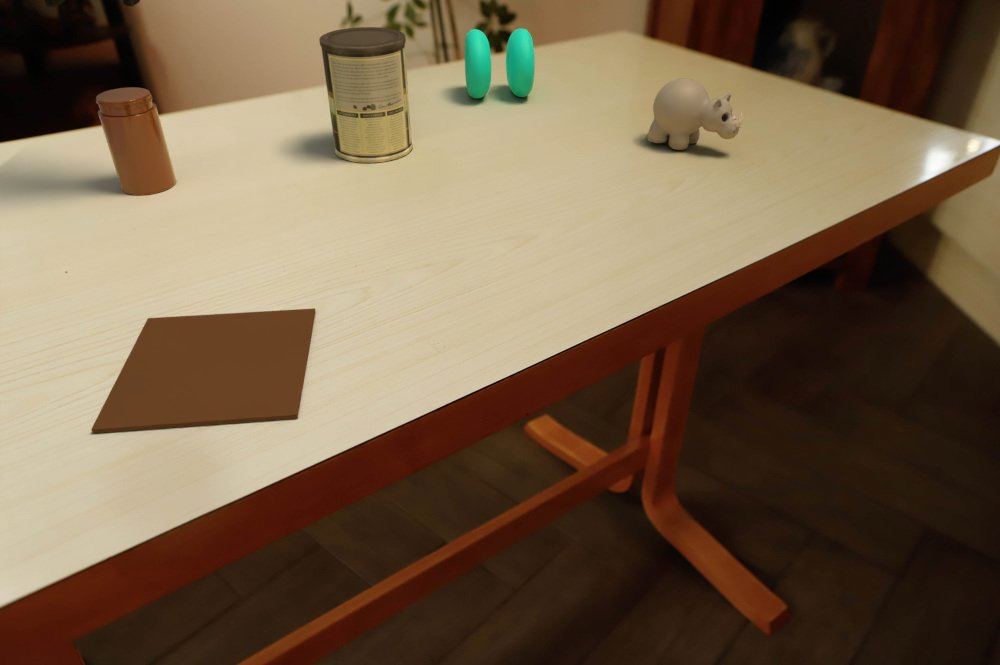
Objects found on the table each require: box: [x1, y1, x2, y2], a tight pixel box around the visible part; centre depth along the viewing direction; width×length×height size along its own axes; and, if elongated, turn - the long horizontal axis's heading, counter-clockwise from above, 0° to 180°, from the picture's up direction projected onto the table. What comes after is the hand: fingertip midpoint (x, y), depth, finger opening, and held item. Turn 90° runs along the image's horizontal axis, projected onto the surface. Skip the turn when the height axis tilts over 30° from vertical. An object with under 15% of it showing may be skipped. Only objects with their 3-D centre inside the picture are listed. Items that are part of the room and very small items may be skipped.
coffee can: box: [318, 26, 414, 164], centre depth 91 cm, size 10×10×14 cm
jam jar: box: [95, 86, 177, 196], centre depth 82 cm, size 6×6×11 cm
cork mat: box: [90, 308, 317, 434], centre depth 56 cm, size 14×14×1 cm
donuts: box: [464, 27, 535, 99], centre depth 111 cm, size 10×10×10 cm
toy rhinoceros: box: [647, 77, 744, 151], centre depth 94 cm, size 7×12×8 cm, turn 51°
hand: (94, 2), depth 73 cm, fingers closed on jar lid, 6 cm apart
